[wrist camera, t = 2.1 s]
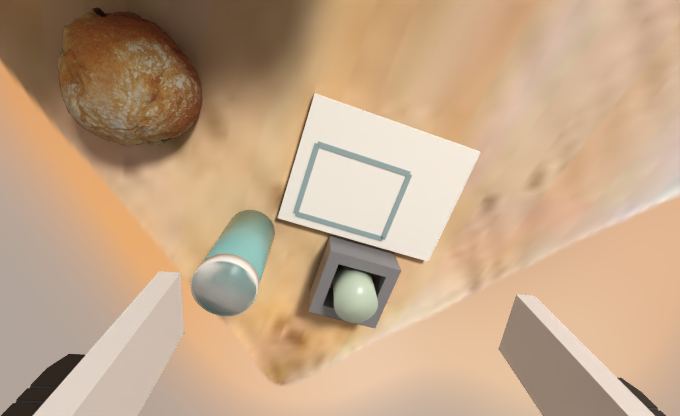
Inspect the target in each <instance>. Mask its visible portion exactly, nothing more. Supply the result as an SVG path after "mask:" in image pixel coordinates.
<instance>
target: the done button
mask: <svg viewBox="0 0 680 416" xmlns="http://www.w3.org/2000/svg"><path fill="white" fill-rule="evenodd" d="M333 295H334V309H335V312H336V314H337V315H338V316H339V317H340V318H341V319H342V320H344V321H346V322H350V323H360V322H364V321H366V320H368V319H370V318H371V317H372V316H373V315H374V314H375V312H376V310H377V308H378V300H377V296H376V292H375V288H374V284H373V280H372V276H371V273H369V272H365V271H362V270H358V269H354V268H351V267H347V266H342V267H340V268H339V269H338V270H337V271H336V273H335V275H334V277H333Z"/></svg>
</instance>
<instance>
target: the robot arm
mask: <svg viewBox="0 0 680 416" xmlns="http://www.w3.org/2000/svg"><path fill="white" fill-rule="evenodd" d="M183 334H184V323H183V306H182V289H181V273H178V272H162V271H159V272H158V273H157V274H156V276H155V277H154V278H153V279H152V280H151V281H150V283H149V284H148V285H147V286H146V287H145V288H144V290H142V292H141V293H140V294H139V295H138V296H137V297H136V298H135V299H134V301H133V302H132V303H131V304H130V305H129V306H128V307H127V309H126V310H125V311H124V312H123V313H122V314H121V315H120V317H119V318H118V319H117V320H116V321H115V322H114V323H113V325H112V326H111V327H110V328H109V329H108V330H107V331H106V333H105V334H104V335H103V336H102V337H101V339H99V341H98V342H97V343H96V344H95V345H94V346H93V347H92V349H91V350H90V351H89V352H88V353H87V354H86V355H80V354H68V355H67V356H65V357H64V358H62V359H61V360H59V361H57V362H56V363H54V364H53V365H51V366H50V367H48V368H47V369H46V370H45V371H44V372H43V373H42V374H41V375H40V376H39V377H38V378H37V379H36V380H35V381H34V382H33V383H32V384H31V387H30V388H29V389H26V390H25V391H24V392H23V393H22V395H21V396H20V397H19V398H18V399H17V401H16V403H13V404H12V405H11V406H10V407H9V408H8V409H7V410H6V411H5V412H4V413H3V414H2V415H1V416H138V415H139V413H140V411H141V409H142V408H143V406H144V404H145V402H146V400H147V399H148V397H149V395H150V393H151V391H152V390H153V388H154V386H155V384H156V383H157V381H158V379H159V377H160V375H161V373H162V372H163V370H164V368H165V366H166V365H167V363H168V361H169V359H170V357H171V356H172V354H173V352H174V350H175V348H176V347H177V345H178V343H179V341H180V340H181V338H182V336H183ZM499 350H500V352H501V353H502V355H503V356H504V358H505V359H506V361H507V362H508V364H509V365H510V367H511V368H512V370H513V371H514V373H515V374H516V376H517V377H518V379H519V380H520V382H521V383H522V385H523V387H524V388H525V389H526V391H527V393H528V394H529V395H530V397H531V398H532V400H533V402H534V403H535V404H536V406H537V408H538V409H539V410H540V412H541V413H542V415H543V416H666V415H664V414H663V412H661V411H658V409H657V407H656V406H655V405H654V404H653V403H652V402H651V401H650V400H649V399H648V398H647V397H646V396H645V395H644V394H643V393H642V392H641V391H639V390H638V389H636V388H635V387H633V386H632V385H630V384H629V383H628V382H626V381H625V380H623V379H622V378H617V377H616V376H614V374H613V373H611V371H609V369H608V368H607V367H606V366H604V365H603V364H602V362H601V361H599V359H598V358H597V357H596V356H595V355H594V354H593V353H591V351H589V350H588V348H586V347H585V346H584V345H583V344H582V343H581V342H580V341H579V340H578V339H577V338H576V337H575V336H574V335H573V334H572V333H571V332H570V331H569V330H568V329H567V328H566V327H565V326H564V325H563V324H562V323H561V322H560V321H559V320H558V319H557V318H556V317H555V316H554V315H553V314H552V313H551V312H550V311H549V310H548V309H547V308H546V307H545V306H544V305H543V304H542V303H541V302H540V301H539V300H538V299H537V298H536V297H535V296H531V295H516V297H515V301H514V304H513V307H512V310H511V313H510V316H509V319H508V322H507V325H506V328H505V331H504V334H503V337H502V340H501V343H500V346H499Z"/></svg>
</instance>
